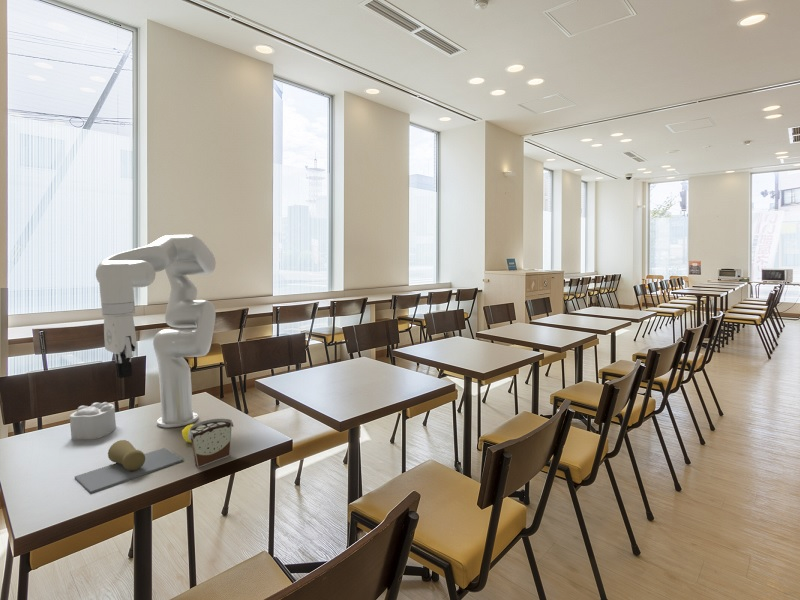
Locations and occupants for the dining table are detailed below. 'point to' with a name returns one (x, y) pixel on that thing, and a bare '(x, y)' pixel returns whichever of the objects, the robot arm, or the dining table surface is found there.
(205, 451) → the food container
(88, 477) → the mat
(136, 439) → the dining table surface
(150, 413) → the dining table surface
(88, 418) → the lumpy-topped squat cylinder
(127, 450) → the cork
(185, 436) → the lemon
